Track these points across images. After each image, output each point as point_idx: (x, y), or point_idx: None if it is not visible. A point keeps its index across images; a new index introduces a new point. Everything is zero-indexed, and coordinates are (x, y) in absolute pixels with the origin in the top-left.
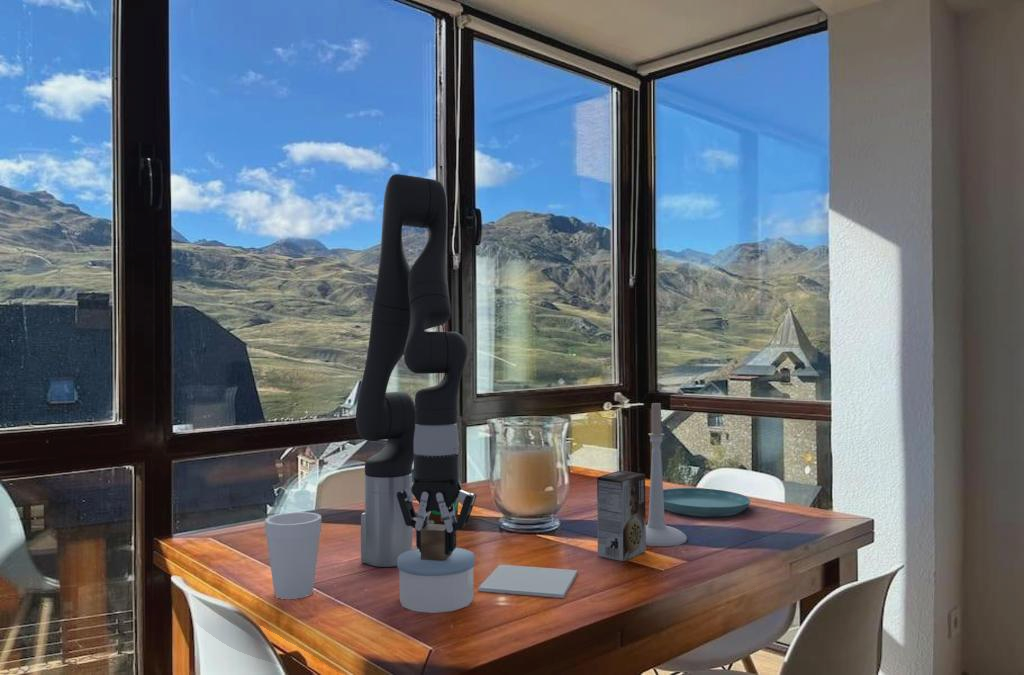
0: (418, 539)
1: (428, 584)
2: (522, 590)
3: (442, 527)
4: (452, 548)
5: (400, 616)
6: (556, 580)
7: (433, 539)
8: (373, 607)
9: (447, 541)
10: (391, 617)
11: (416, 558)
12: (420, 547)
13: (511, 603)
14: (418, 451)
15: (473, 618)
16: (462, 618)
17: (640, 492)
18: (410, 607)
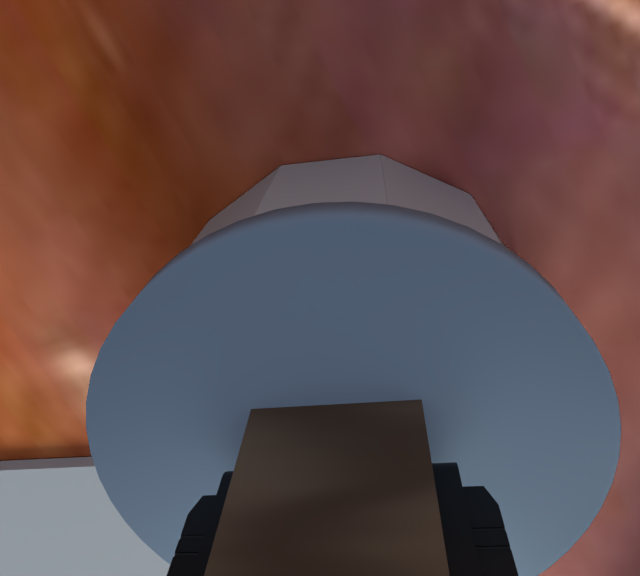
0: (489, 551)
1: (285, 205)
2: (65, 474)
3: None
4: (197, 512)
5: (418, 61)
6: (24, 574)
7: (313, 533)
8: (619, 132)
9: (211, 548)
10: (460, 26)
11: (462, 409)
12: (452, 486)
13: (47, 373)
14: None
15: (74, 170)
16: (118, 151)
17: None
18: (409, 170)
